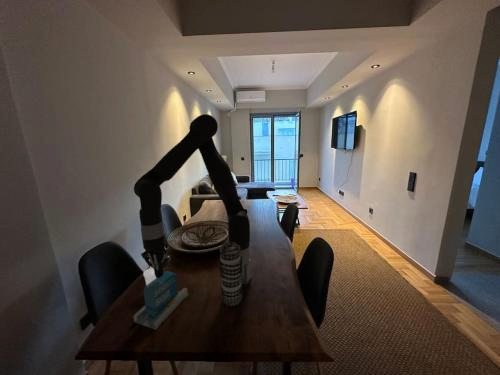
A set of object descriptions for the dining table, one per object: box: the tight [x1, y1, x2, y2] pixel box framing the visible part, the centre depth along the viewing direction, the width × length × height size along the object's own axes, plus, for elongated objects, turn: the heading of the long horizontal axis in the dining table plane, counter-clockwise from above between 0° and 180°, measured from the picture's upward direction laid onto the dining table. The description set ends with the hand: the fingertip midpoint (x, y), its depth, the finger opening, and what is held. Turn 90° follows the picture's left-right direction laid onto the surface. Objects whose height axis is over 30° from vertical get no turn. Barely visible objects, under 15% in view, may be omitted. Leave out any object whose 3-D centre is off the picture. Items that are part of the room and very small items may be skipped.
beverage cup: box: [142, 266, 156, 286], centre depth 90 cm, size 6×6×14 cm
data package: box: [143, 270, 179, 317], centre depth 80 cm, size 12×4×12 cm, turn 157°
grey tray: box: [133, 287, 189, 331], centre depth 81 cm, size 10×18×4 cm, turn 160°
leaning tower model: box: [218, 241, 244, 307], centre depth 82 cm, size 9×9×25 cm
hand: (159, 276), depth 78 cm, fingers closed
